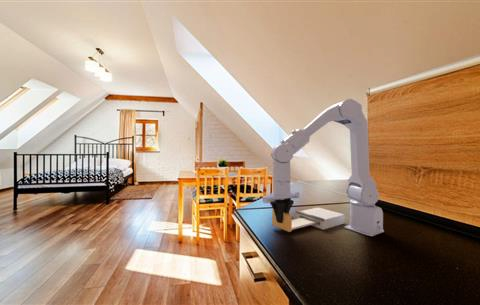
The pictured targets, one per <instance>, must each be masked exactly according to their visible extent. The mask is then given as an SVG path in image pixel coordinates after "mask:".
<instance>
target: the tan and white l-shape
mask: <svg viewBox="0 0 480 305" xmlns="http://www.w3.org/2000/svg"><path fill="white" fill-rule="evenodd" d="M271 214H272V219H271V220H272V221H271V222H272V224H271V225H273V226H274V227H276V228H278V229H281V230H283V231H286V232H288V233H290V232H292V231H293V230H297V229H300V228H305V227H308V226H312V224H316V223H320V222H319V221H316V220H313V219H310V218H307V217H303V218H299V219H297V218H295V219H292V217H293V215H292V214H290V213H289V214H287V213H284V212H283V222H282V223H279V222H277V220H276V216H275V213H274V210H273V209H272V212H271Z"/></svg>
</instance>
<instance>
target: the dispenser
mask: <svg viewBox="0 0 480 305" xmlns="http://www.w3.org/2000/svg"><path fill="white" fill-rule="evenodd" d="M295 214H296V219H299V218H303V217H307V218H310V219H313V220H316V221H319V222H320V223H316V224H312V225H311V227H315V228H317V229H320V230H327V229H330V228H333V227H337V226H340V225H343V224H345V221H346V220H345V218H346V217H345V216H346V214H345V213H341V212H337V211H334V210H333V211H332V210H330V209H326V208H323V207H313V208H308V209H303V210H295Z"/></svg>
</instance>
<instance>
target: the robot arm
mask: <svg viewBox="0 0 480 305" xmlns="http://www.w3.org/2000/svg"><path fill="white" fill-rule="evenodd" d="M362 106H363V105H362V104H361V103H359V102H358V101H357V100H355V99H353V98H347V99H345V100H342V101H340V102H338V103H334V104H331V105H330V106H329V107H327V108H325V110H323V111H322V112H321V113H320V114H318V115H317V116H316V117H315V118H314V119H313V120H312V121H311V122H309V123H308V124H307V125H306V126H305V127H304V128H303V129H302V128H297V129H293V130H292V131H290V135H288V136H287V137H285V139H281V140H279V142H280V144H277V145H275V146H274V147H273V148H272V150H271V152H270V157H271V158H272V160H273V162H272V165H273V166H272V192H271V193H270V194H267V195H263V196H262V198H261V199H262V203H264V204H270V205H271V208H272V210H274V213H275V216H276V220H277V222H279V223H282V222H283V212H284V213H287V214H290V210H291V209H292V207H293V205H294V200H292V199H299V198H300V192H299V191H291V160H292V159H293V158H294V155H295V154H296V153H297V152H299V151H300V150H301V149H302V148H304V147H305V146H306V145H307V144H309V143H310V138H311V136H312V135H314V134H315V133H316V132H318V131H319V130H320V129H321V128H323V127H324V126H325V125H327V124H328V123H330V122H335V123H338V124H341V125H343V126H344V127H345V128H347V129H348V130H349V141H350V143H349V144H350V167H351V176H349V178H348V180H347V181H348V182H347V183H348V184H347V186H346V189H345V193H346V195H347V197H348V198H349V224H348V225H345V226H344V227H343V228H344V229H346V230H350V231H353V232H356V233H359V234H362V235H366V236H368V237H369V236H370V237H374V236H377V235H379V234H382V233H385V230H384V212H383V209H382V208H381V207H379V206H377V205H376V203H377V202H378V201H379V199H380V194H379V190H378V189H377V188H378V187H377V184H376V183H377V182H376V181H375V180H374V178H373V177H372V176H371V174H370V173H371V172H370V171H371V170H370V150H369V149H370V147H369V128H368V126H369V123H368V120H367V118H366V116H365V114H364V112H363V107H362Z"/></svg>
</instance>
